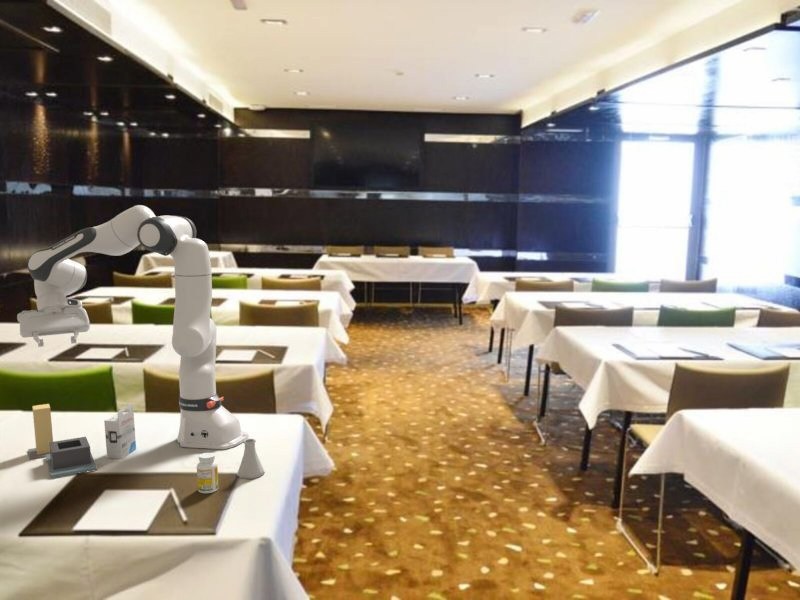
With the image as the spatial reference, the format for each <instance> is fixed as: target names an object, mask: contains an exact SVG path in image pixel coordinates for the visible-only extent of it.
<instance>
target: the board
mask: <svg viewBox="0 0 800 600" xmlns="http://www.w3.org/2000/svg"><path fill="white" fill-rule="evenodd" d="M45 459H46V463H47V466H48V467H47V469H48V471H49V477H50V479H56V478H57V479H58V478H62V477H66V476H73V475H74V476H75V475H77V474H76V473H79V472H85V473H88V472H87V471H91V472H94V471H93V470H96V471H98V466H97V464H96V461H95V459H94V457H93V454H92V453H91V463H89V464H84V465H78V466H72V467H66V468H61V469H55V470H53V466H52V462H51V458H50V454H49V455H46V457H45ZM79 474H80V473H79Z"/></svg>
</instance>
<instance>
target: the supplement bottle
mask: <svg viewBox="0 0 800 600" xmlns="http://www.w3.org/2000/svg"><path fill="white" fill-rule="evenodd" d="M215 457H216V456H215V453H213V452H203V453H200V454H199V456H198V461H199V462H198V463H197V464H196V477H197V478H196V479H197V480H196V481H197V491H198V492H199V493H200V494H211V493H215V492H217V491H218V489H219V473H218V470H219V468H218V462H216V461H215Z"/></svg>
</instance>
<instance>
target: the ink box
mask: <svg viewBox="0 0 800 600" xmlns="http://www.w3.org/2000/svg"><path fill="white" fill-rule="evenodd" d="M125 411H126V412H125ZM104 433H105V435H104V436H105V447H106V458H108V459H116V458H117V459H119V460H122V459H123V457H124V458H125V457H126V455H127V456H128V455H129V453H130V454H131V453H133V452H134V451H136V450H137V443H136V441H137V440H136V428H135V413H134V404H133V403H130V404H129V405H126V406H125V407H123V408H121V409H119V410H118V411H117V413H115V414H114V415H112V416H111V417H109V418H106V419H105V420H104ZM117 459H116V460H117Z"/></svg>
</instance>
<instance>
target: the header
mask: <svg viewBox="0 0 800 600" xmlns="http://www.w3.org/2000/svg"><path fill="white" fill-rule="evenodd" d="M49 446H50V458H51V462H52V466H53V470H55V469H61V468H66V467H72V466H78V465H84V464H89V463H91V454H92V452H91V446H90V443H89V440H88V439H87V436H82V437H81V436H80V437H75V438H70V439H69V438H67V439H63V440H57V441H56V440H55V441H53V442H49Z"/></svg>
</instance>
